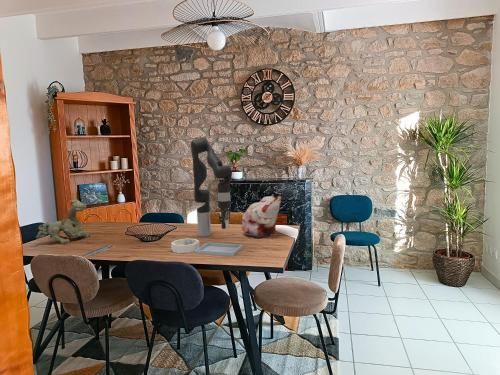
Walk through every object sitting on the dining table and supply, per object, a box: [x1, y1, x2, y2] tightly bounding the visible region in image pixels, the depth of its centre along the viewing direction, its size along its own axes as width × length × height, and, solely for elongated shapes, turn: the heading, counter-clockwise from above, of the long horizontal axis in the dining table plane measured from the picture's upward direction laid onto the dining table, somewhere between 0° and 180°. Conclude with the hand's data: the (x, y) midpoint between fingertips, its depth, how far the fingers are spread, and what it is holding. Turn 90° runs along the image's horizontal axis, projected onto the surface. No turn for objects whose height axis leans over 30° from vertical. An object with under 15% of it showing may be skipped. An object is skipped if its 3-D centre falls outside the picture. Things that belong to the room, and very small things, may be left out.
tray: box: [194, 242, 244, 257], centre depth 223 cm, size 18×24×3 cm
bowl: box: [170, 238, 201, 254], centre depth 227 cm, size 16×16×5 cm
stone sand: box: [220, 219, 230, 230], centre depth 220 cm, size 4×4×5 cm
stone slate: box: [185, 238, 192, 245], centre depth 229 cm, size 4×4×5 cm
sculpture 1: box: [35, 198, 91, 245], centre depth 257 cm, size 29×27×30 cm
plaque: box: [81, 245, 117, 259], centre depth 227 cm, size 33×10×1 cm, turn 163°
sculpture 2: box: [241, 195, 282, 238], centre depth 262 cm, size 31×29×30 cm
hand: (225, 227), depth 220 cm, fingers closed on stone sand, 4 cm apart
